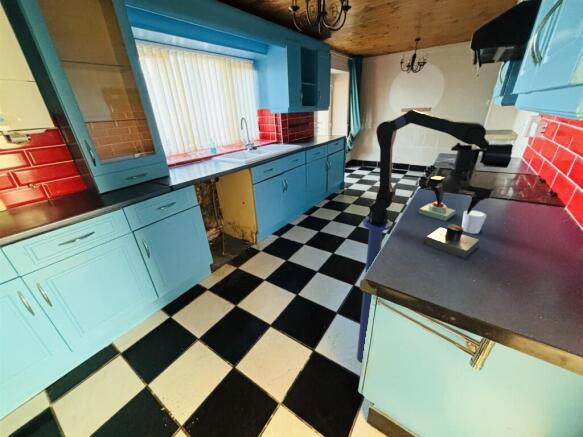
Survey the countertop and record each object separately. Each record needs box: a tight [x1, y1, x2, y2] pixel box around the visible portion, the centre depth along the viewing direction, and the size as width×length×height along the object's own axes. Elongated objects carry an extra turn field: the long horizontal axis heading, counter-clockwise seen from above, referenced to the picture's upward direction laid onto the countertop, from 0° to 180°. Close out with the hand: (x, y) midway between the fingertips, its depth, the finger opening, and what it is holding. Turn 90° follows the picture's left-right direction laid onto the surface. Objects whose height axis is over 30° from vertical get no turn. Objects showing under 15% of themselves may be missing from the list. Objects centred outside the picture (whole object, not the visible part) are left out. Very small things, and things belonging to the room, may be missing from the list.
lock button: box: [433, 200, 445, 208], centre depth 102 cm, size 4×4×2 cm
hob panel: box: [425, 227, 480, 259], centre depth 80 cm, size 12×10×3 cm
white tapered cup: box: [461, 209, 487, 234], centre depth 88 cm, size 7×7×7 cm
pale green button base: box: [418, 202, 456, 222], centre depth 103 cm, size 11×9×4 cm
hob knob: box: [445, 224, 464, 241], centre depth 79 cm, size 4×4×4 cm
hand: (452, 209), depth 82 cm, fingers open, 9 cm apart
